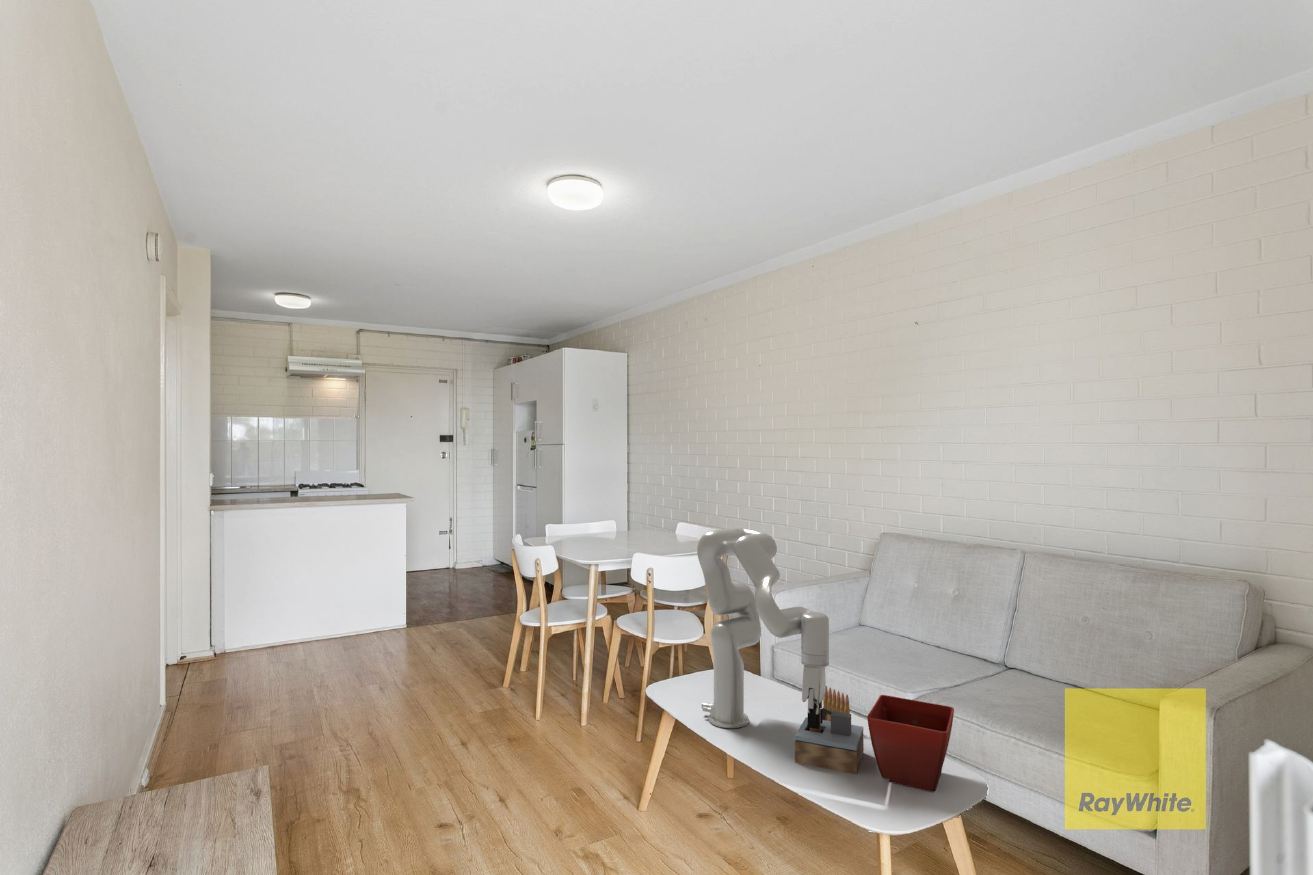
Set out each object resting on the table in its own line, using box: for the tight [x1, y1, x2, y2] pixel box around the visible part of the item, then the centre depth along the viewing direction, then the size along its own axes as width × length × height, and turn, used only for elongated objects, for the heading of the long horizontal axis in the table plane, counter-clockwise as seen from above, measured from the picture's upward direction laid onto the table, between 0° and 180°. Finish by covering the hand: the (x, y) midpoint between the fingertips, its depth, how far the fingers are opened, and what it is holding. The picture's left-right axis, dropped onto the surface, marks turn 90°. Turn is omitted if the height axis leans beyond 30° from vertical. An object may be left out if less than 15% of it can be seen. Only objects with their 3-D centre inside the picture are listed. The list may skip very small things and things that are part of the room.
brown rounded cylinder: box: [810, 708, 822, 733], centre depth 184 cm, size 3×3×12 cm
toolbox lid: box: [794, 711, 864, 751], centre depth 182 cm, size 16×14×6 cm
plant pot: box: [866, 694, 955, 793], centre depth 173 cm, size 19×19×17 cm
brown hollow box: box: [794, 728, 865, 776], centre depth 182 cm, size 16×14×7 cm
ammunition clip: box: [821, 685, 851, 721], centre depth 204 cm, size 11×2×12 cm, turn 30°
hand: (815, 724), depth 184 cm, fingers open, 3 cm apart
